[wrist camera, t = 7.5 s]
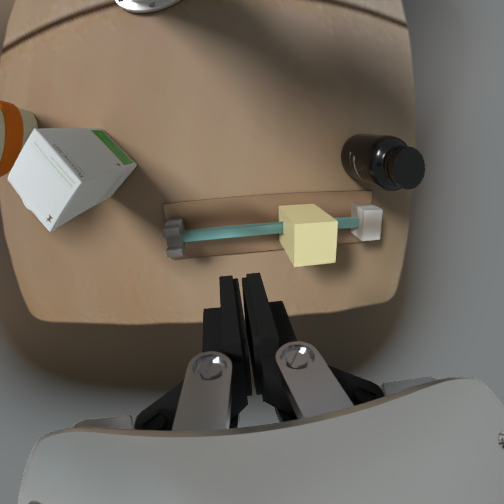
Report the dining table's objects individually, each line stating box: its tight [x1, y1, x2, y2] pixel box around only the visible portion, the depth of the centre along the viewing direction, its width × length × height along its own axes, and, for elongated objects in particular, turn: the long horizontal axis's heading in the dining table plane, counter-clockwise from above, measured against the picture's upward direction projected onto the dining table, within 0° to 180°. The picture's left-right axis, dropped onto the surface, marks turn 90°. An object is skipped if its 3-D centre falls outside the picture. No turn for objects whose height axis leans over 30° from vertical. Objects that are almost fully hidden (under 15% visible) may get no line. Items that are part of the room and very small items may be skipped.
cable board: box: [163, 191, 383, 259], centre depth 36 cm, size 8×30×5 cm, turn 94°
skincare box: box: [8, 128, 137, 232], centre depth 25 cm, size 8×7×16 cm
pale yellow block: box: [279, 204, 338, 267], centre depth 34 cm, size 5×5×8 cm
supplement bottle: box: [341, 134, 425, 191], centre depth 30 cm, size 7×7×12 cm
